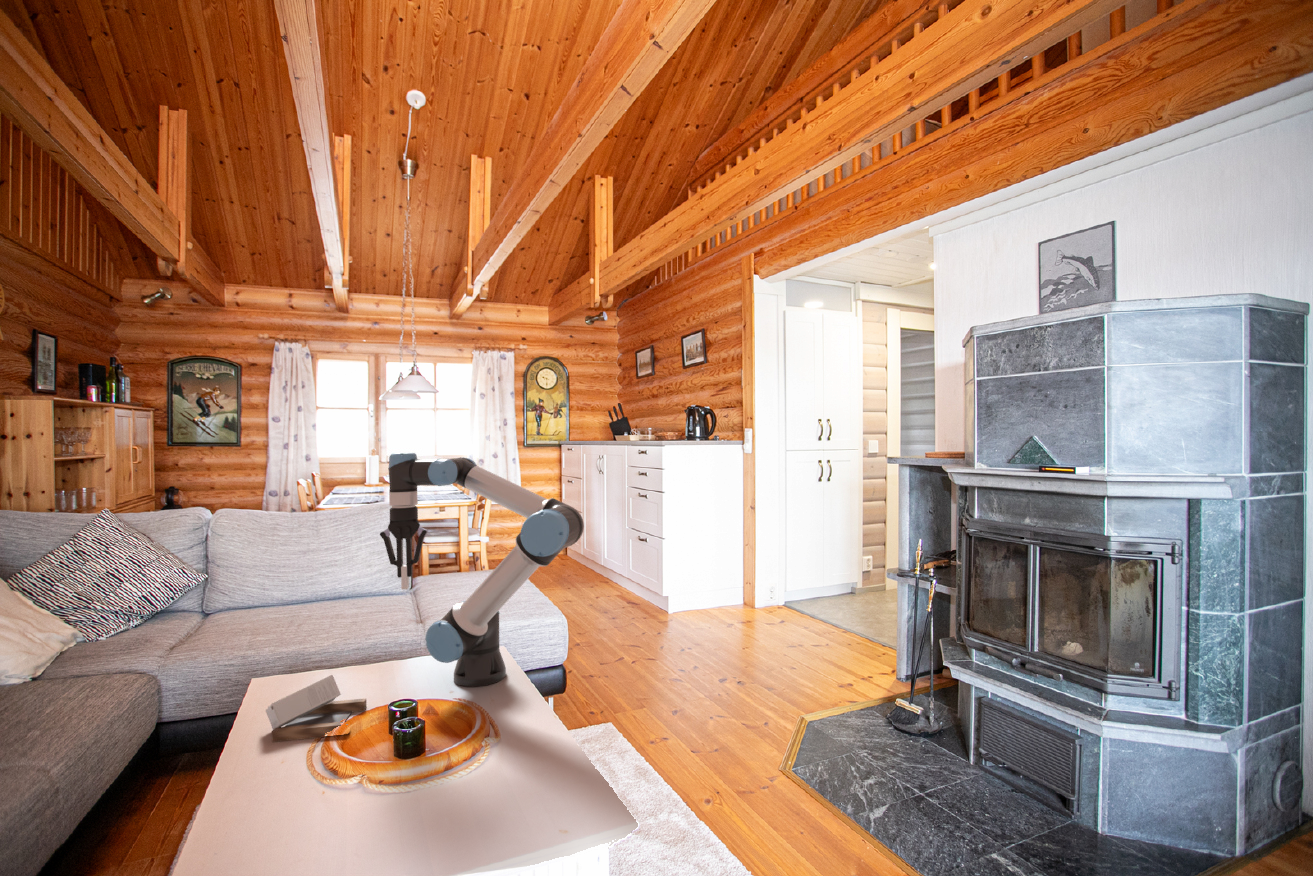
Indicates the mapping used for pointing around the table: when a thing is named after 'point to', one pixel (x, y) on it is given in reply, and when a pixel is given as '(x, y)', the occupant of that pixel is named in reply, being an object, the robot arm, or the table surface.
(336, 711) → the u rest
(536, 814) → the table surface
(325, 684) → the skincare box
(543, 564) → the robot arm
